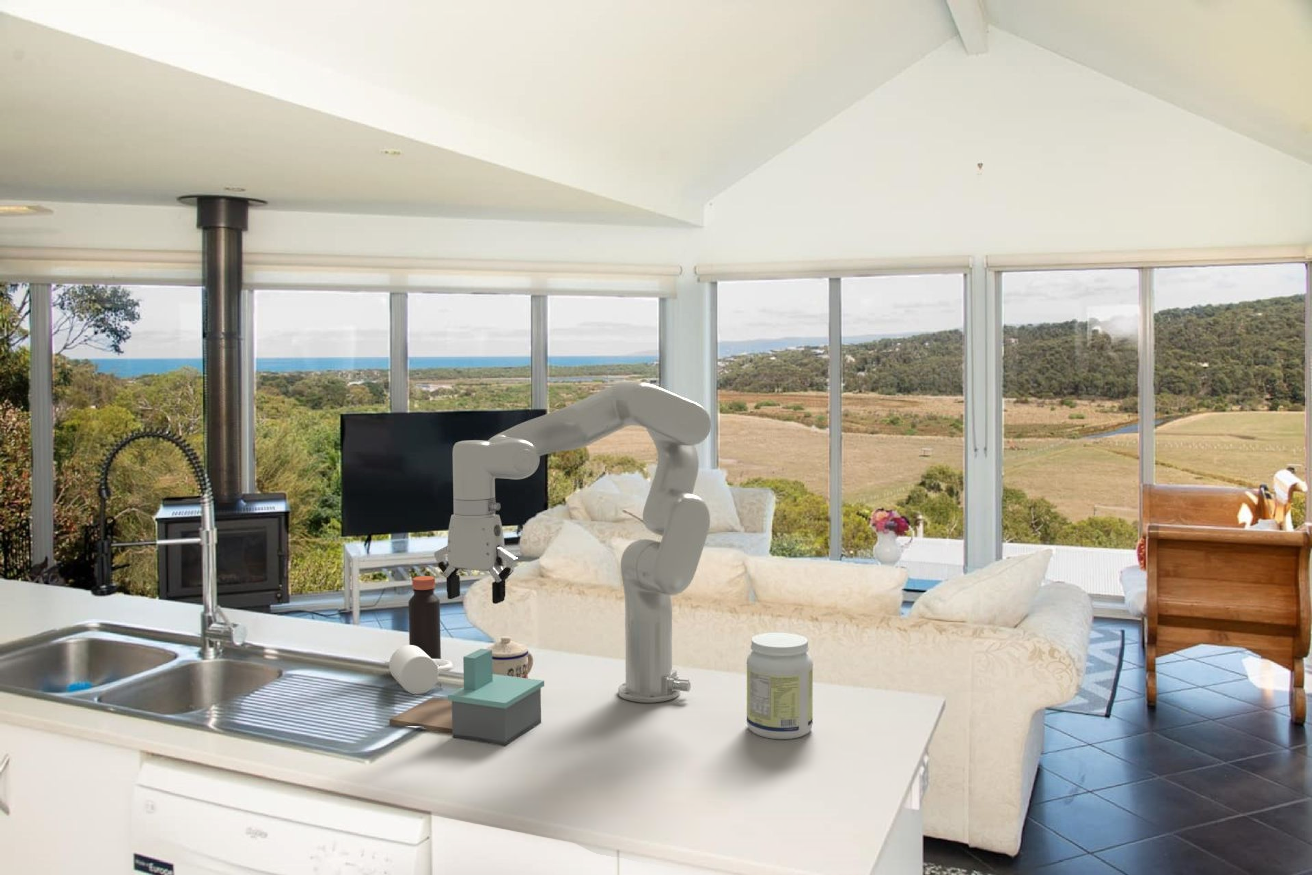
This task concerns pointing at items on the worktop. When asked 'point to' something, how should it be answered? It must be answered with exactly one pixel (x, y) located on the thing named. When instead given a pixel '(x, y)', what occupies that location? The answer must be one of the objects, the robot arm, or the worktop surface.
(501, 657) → the teacup with lid
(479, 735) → the tub
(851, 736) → the worktop surface
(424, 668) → the mug
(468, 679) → the lid
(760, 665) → the supplement tub
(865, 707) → the worktop surface
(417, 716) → the board
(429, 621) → the bottle
